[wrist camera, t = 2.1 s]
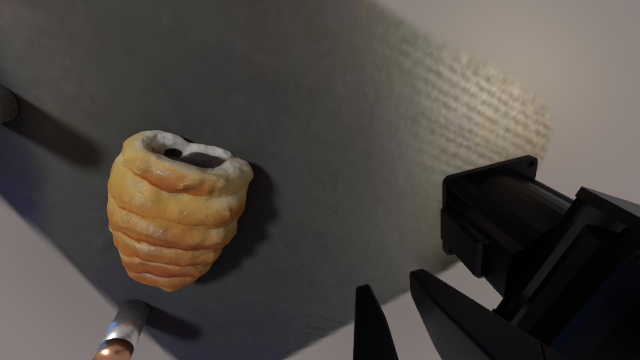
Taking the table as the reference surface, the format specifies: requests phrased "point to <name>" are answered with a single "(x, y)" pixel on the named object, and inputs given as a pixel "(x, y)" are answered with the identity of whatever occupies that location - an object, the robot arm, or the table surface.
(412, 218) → the table surface
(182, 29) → the table surface
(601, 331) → the robot arm
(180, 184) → the pastry
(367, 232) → the table surface
